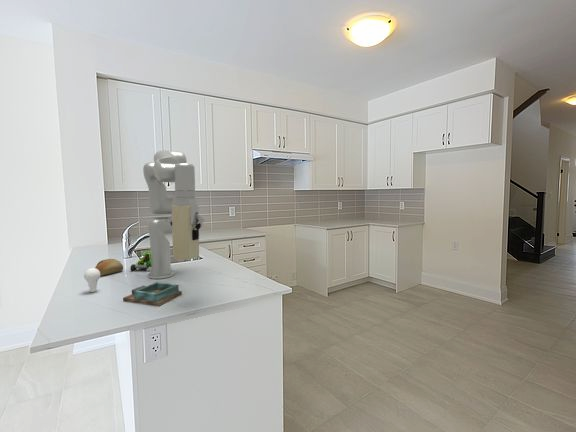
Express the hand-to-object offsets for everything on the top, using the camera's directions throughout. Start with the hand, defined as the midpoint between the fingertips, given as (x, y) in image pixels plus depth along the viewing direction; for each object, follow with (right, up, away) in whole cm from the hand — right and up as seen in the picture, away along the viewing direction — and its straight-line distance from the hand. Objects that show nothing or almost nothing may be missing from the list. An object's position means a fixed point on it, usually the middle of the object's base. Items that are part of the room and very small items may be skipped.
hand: (186, 238), depth 116 cm
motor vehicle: (-43, -22, +56) cm, 74 cm away
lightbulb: (-47, -25, +15) cm, 56 cm away
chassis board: (-17, -26, +8) cm, 32 cm away
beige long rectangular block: (0, -8, +1) cm, 8 cm away
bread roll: (-58, -23, +44) cm, 77 cm away
